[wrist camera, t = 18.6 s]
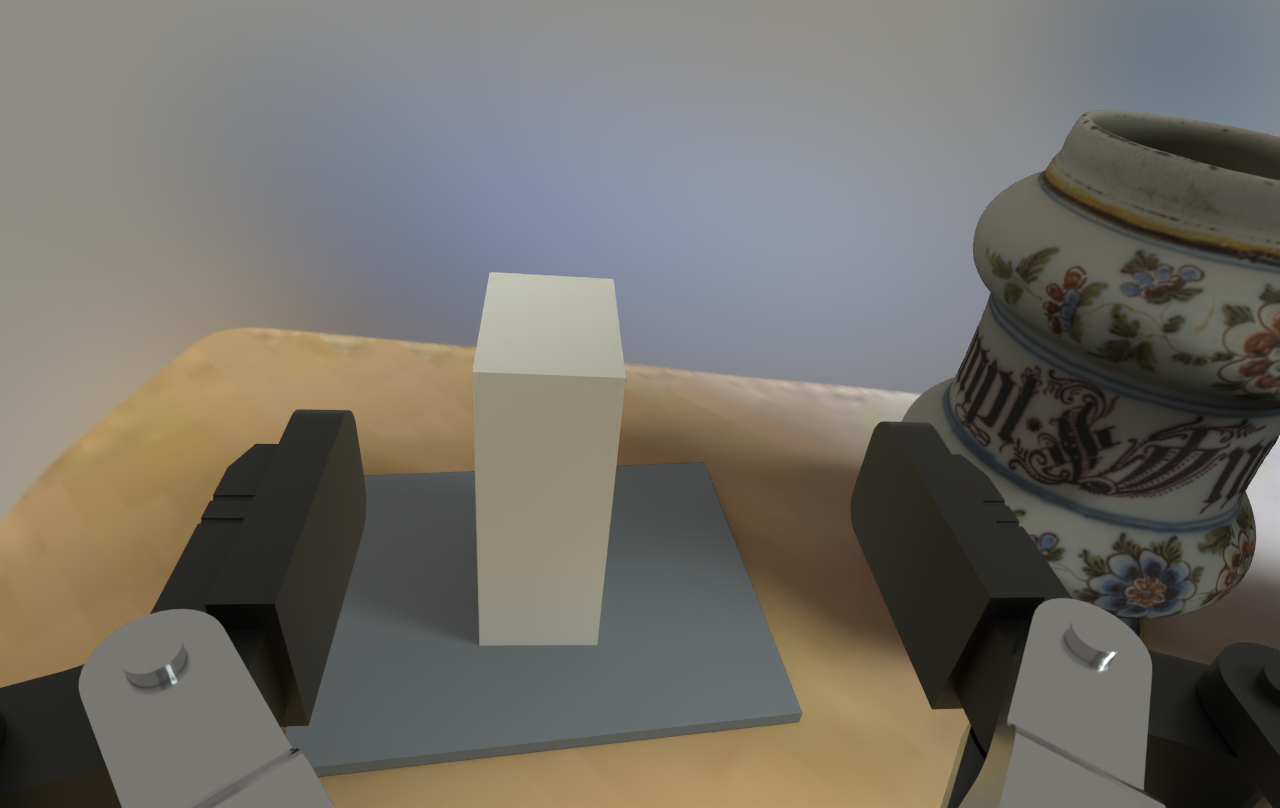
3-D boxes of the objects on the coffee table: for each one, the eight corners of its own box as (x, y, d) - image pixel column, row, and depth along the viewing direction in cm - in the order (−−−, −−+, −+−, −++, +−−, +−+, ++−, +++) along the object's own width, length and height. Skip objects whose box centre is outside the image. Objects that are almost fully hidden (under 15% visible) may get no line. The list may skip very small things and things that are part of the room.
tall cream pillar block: (591, 524, 32) (613, 279, 25) (597, 645, 27) (626, 378, 20) (492, 522, 31) (490, 272, 25) (479, 645, 26) (471, 371, 20)
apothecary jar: (1100, 511, 36) (1330, 120, 26) (1229, 743, 27) (1678, 260, 16) (845, 470, 37) (974, 73, 27) (878, 683, 27) (1102, 181, 17)
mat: (702, 470, 36) (704, 462, 36) (799, 721, 26) (802, 712, 25) (339, 485, 33) (338, 476, 32) (280, 781, 22) (277, 771, 22)
